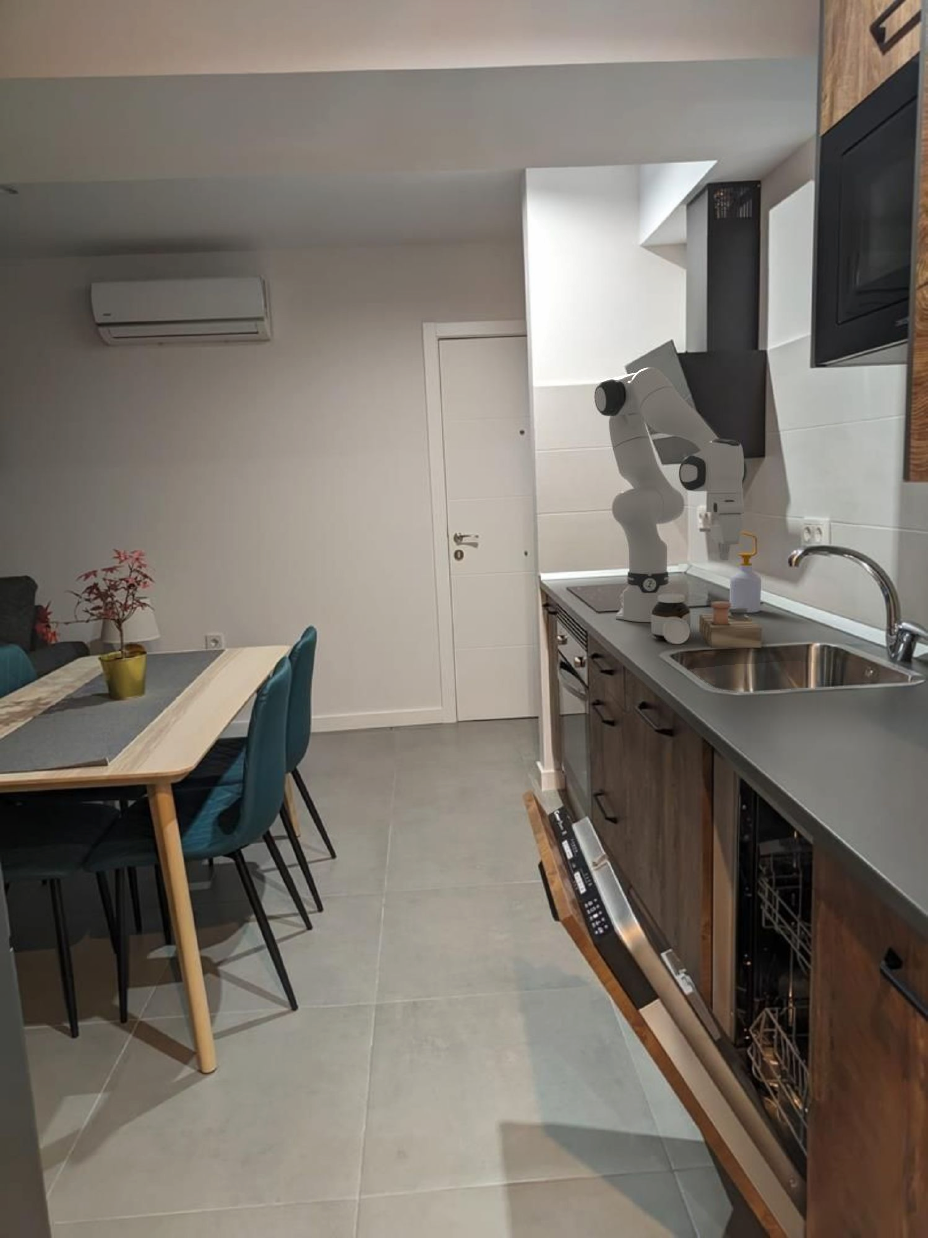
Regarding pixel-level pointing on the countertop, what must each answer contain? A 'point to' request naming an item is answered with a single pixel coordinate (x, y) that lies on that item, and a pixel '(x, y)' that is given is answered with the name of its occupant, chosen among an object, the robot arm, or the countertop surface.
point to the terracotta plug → (720, 613)
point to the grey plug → (737, 612)
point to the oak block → (730, 632)
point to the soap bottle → (746, 584)
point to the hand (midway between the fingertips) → (723, 559)
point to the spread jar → (671, 619)
